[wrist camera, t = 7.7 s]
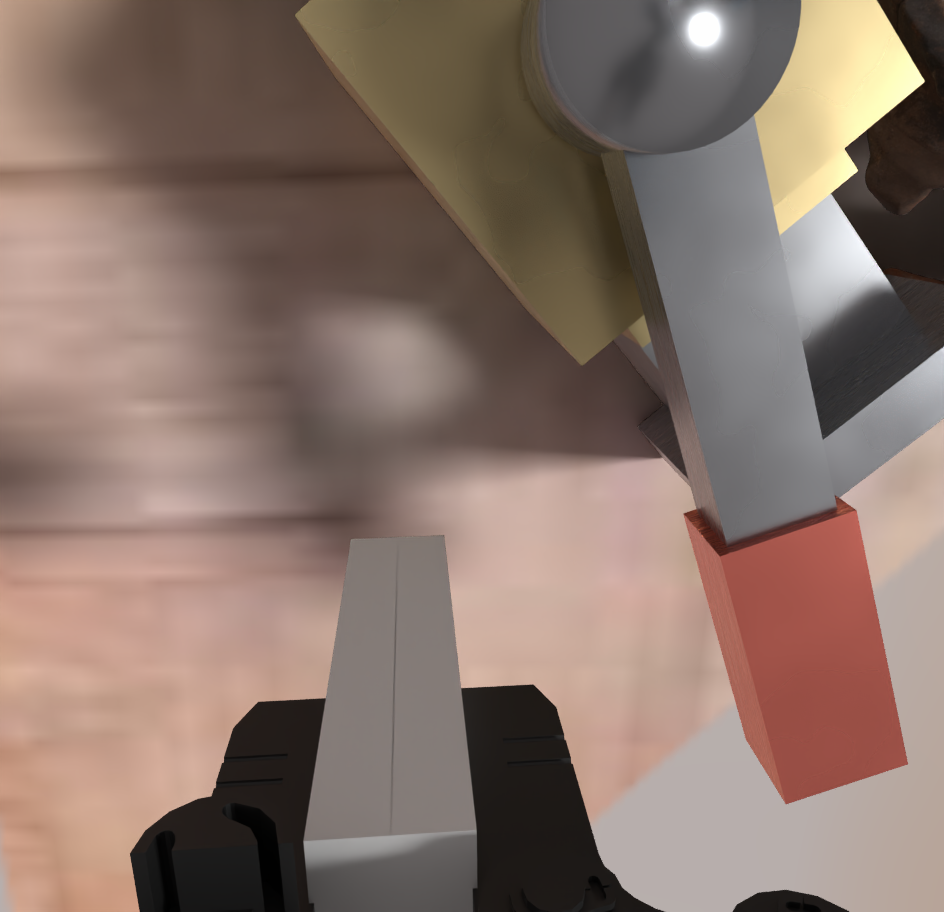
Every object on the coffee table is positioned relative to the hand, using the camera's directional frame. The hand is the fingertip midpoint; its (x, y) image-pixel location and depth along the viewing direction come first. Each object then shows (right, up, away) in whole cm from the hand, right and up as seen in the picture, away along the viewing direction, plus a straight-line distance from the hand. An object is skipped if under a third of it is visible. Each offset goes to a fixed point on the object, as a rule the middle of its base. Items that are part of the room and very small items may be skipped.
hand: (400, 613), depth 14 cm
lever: (+5, +4, +1) cm, 7 cm away
